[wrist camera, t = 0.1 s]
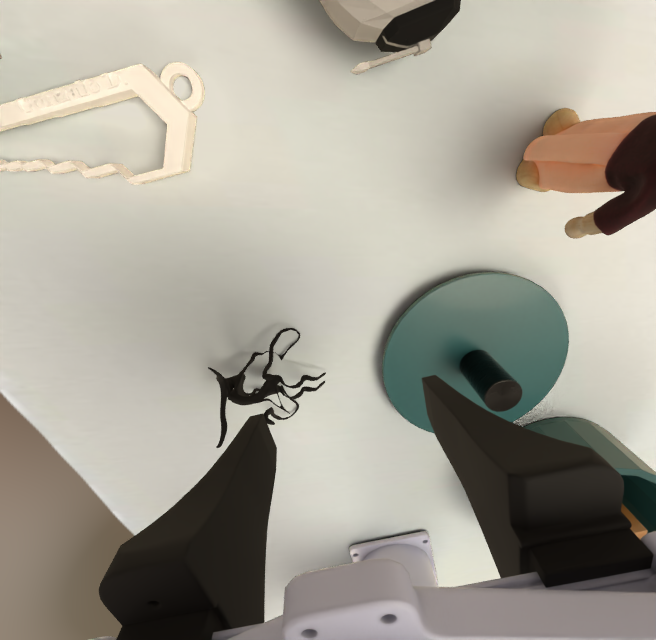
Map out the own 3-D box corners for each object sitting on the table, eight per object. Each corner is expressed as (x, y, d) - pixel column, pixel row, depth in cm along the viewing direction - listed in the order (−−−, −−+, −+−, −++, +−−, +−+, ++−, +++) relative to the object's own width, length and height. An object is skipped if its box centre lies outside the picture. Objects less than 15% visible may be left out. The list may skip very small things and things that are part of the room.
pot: (609, 503, 33) (662, 563, 28) (480, 528, 33) (510, 591, 28) (622, 402, 28) (690, 452, 23) (472, 434, 29) (506, 489, 24)
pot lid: (556, 407, 28) (605, 453, 23) (395, 442, 29) (411, 493, 24) (562, 248, 23) (627, 266, 18) (364, 295, 23) (377, 325, 19)
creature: (321, 319, 25) (209, 326, 23) (343, 354, 20) (204, 366, 18) (318, 405, 28) (218, 418, 26) (335, 452, 23) (216, 472, 21)
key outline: (25, 216, 20) (1, 219, 19) (-28, 125, 19) (-60, 120, 17) (228, 161, 20) (221, 159, 18) (195, 60, 18) (183, 48, 16)
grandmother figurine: (549, 78, 19) (938, -84, 7) (607, 101, 19) (1055, -14, 8) (487, 216, 22) (692, 262, 10) (539, 233, 22) (790, 295, 10)
